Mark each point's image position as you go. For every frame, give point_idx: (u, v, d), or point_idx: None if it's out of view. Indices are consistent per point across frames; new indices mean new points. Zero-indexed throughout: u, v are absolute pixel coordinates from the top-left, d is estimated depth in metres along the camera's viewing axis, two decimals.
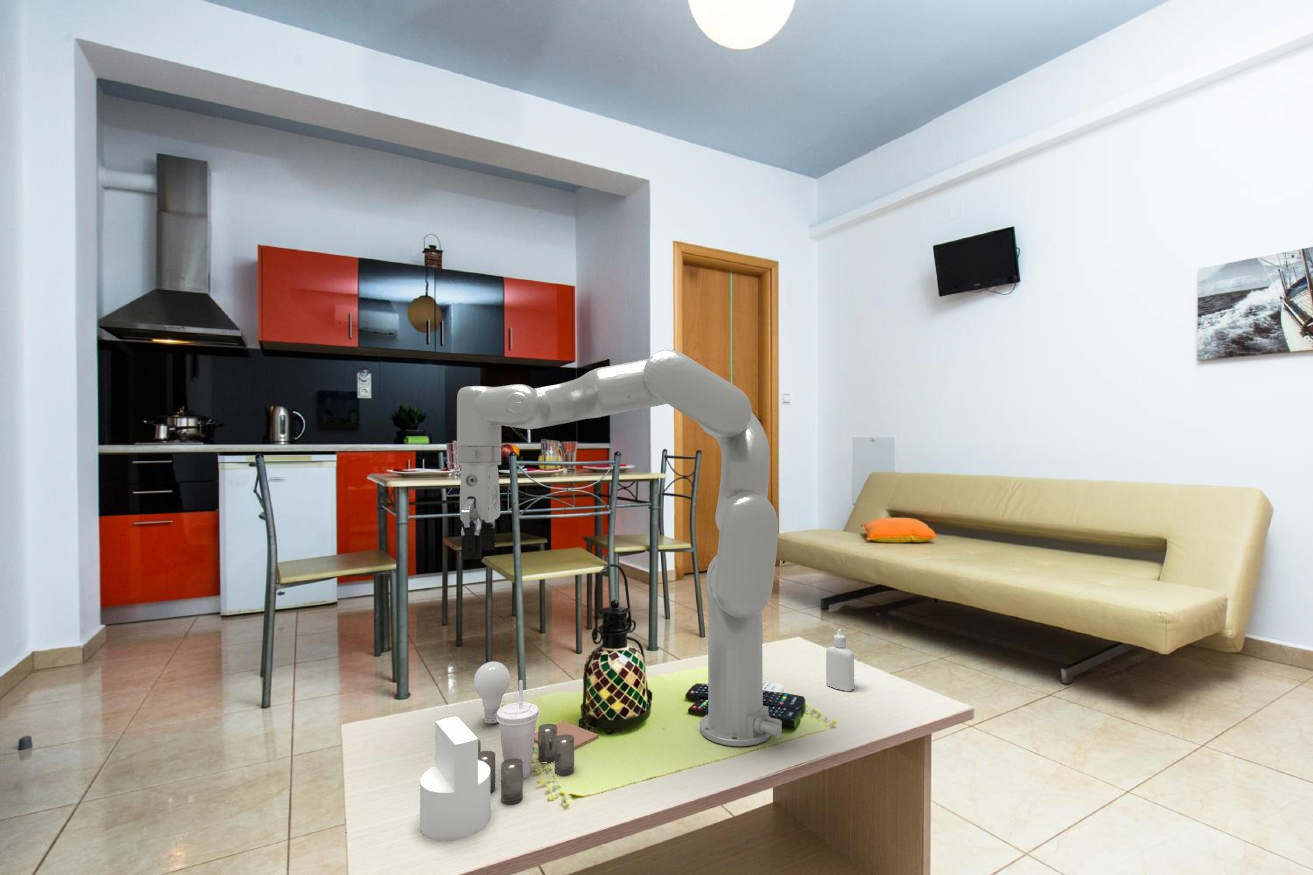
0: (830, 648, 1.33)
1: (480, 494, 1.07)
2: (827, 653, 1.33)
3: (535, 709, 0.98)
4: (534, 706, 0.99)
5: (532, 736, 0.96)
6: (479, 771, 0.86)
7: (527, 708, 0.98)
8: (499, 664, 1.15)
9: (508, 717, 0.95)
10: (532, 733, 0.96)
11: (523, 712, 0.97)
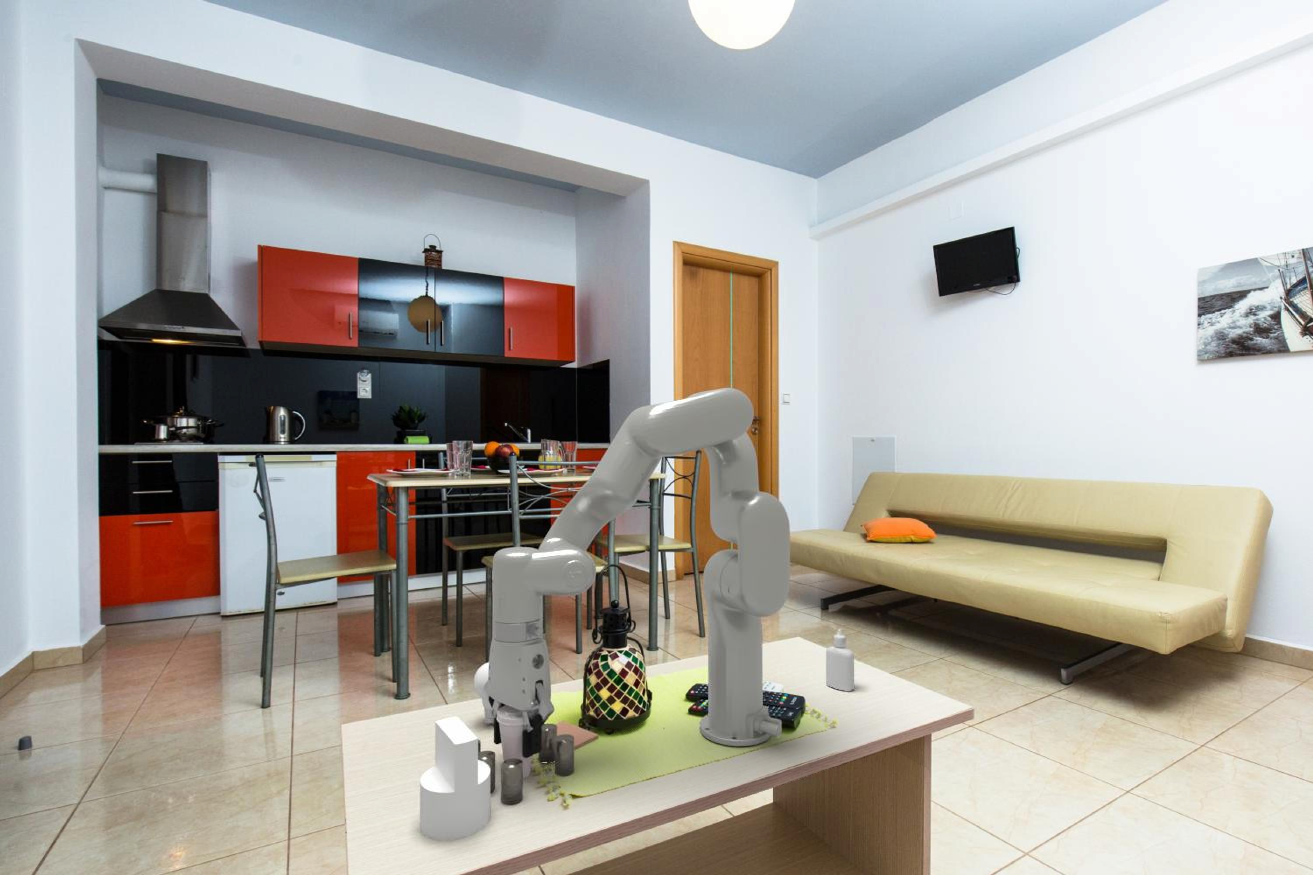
0: (830, 648, 1.33)
1: (546, 674, 0.96)
2: (827, 653, 1.33)
3: None
4: None
5: None
6: (479, 771, 0.86)
7: None
8: None
9: (508, 717, 0.95)
10: None
11: None
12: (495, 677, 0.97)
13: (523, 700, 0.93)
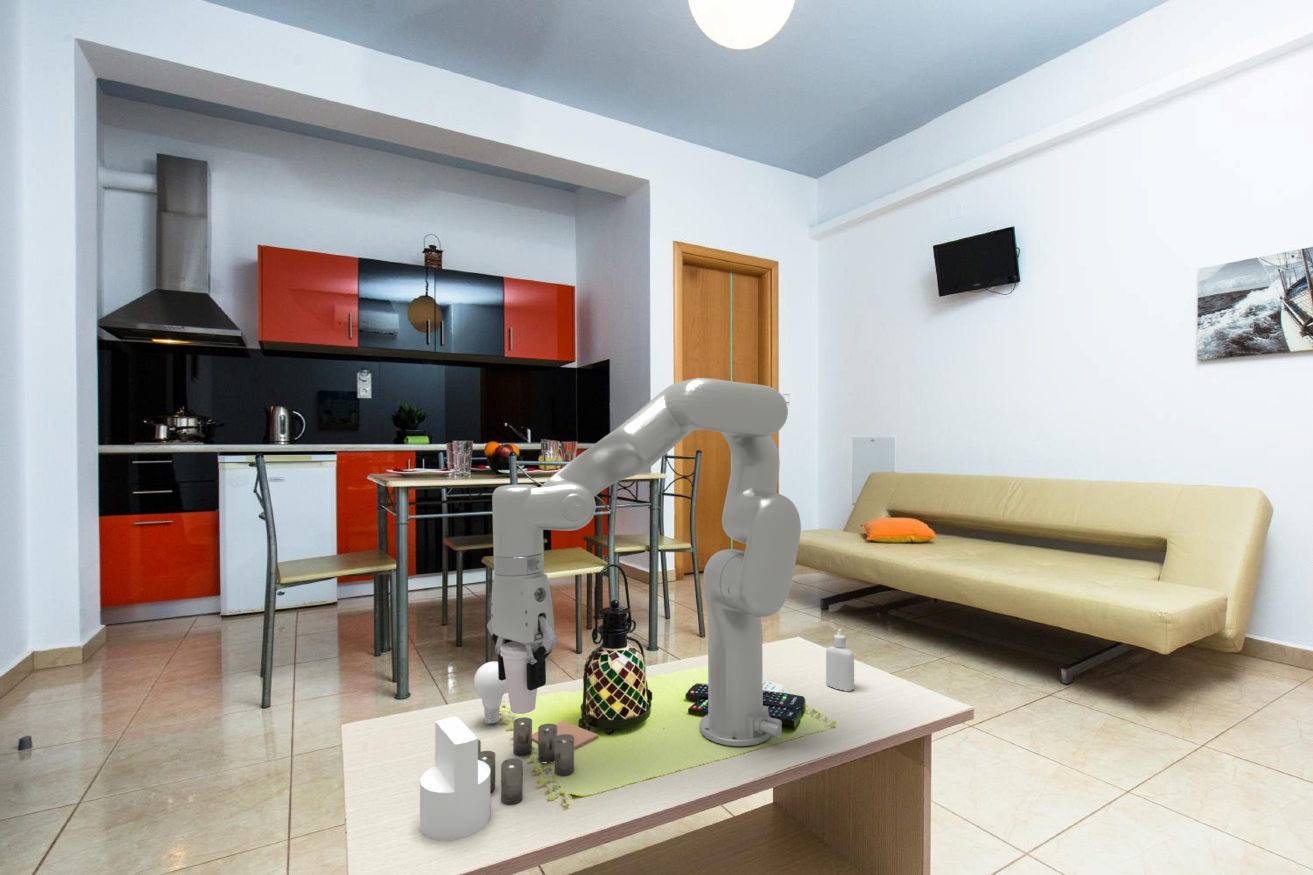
0: (830, 648, 1.33)
1: (549, 608, 0.96)
2: (827, 653, 1.33)
3: None
4: None
5: None
6: (479, 771, 0.86)
7: None
8: None
9: (512, 651, 0.95)
10: None
11: None
12: (497, 613, 0.98)
13: (526, 633, 0.94)
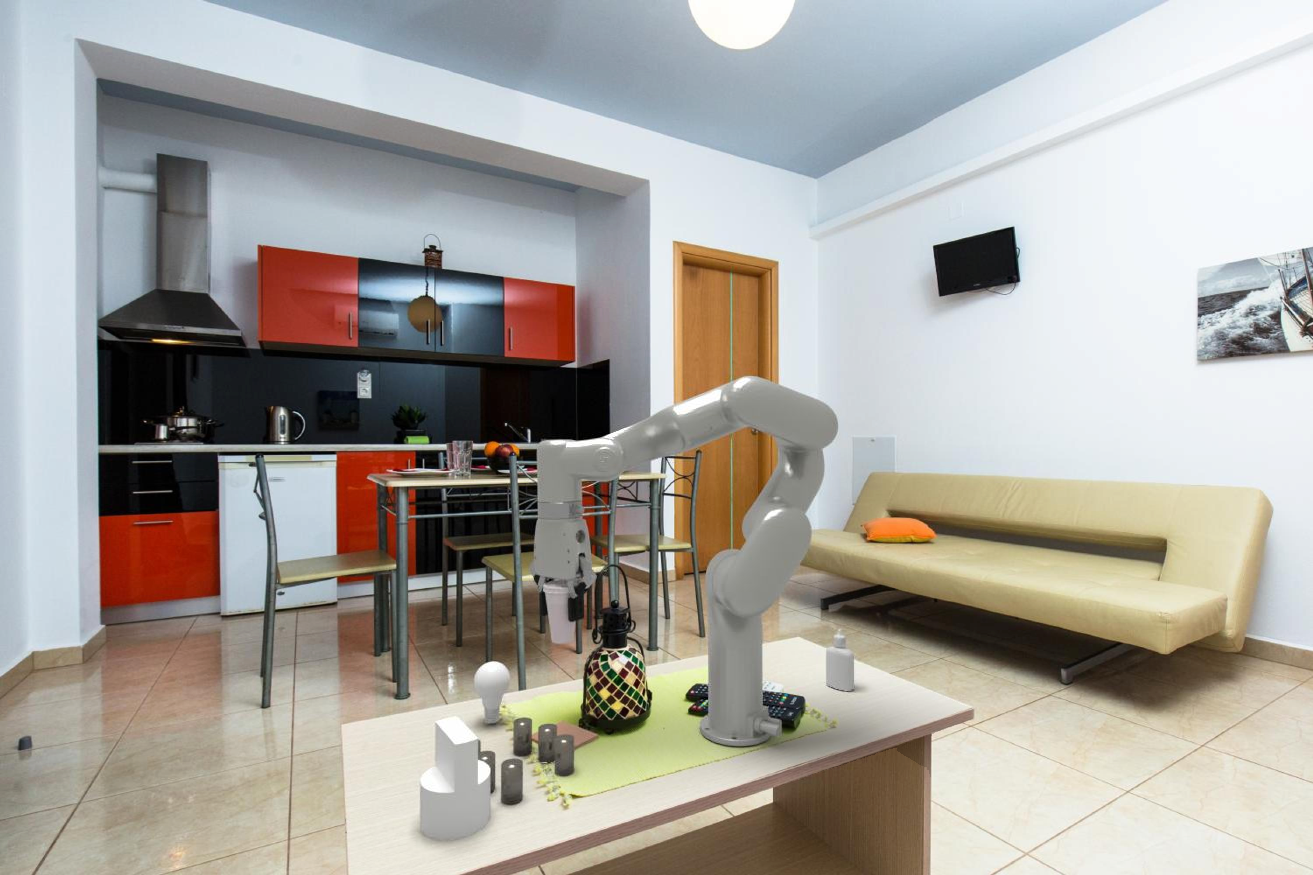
0: (830, 648, 1.33)
1: (588, 549, 1.07)
2: (827, 653, 1.33)
3: None
4: None
5: None
6: (479, 771, 0.86)
7: None
8: (499, 664, 1.15)
9: (554, 587, 1.06)
10: None
11: None
12: (540, 555, 1.09)
13: (568, 570, 1.05)
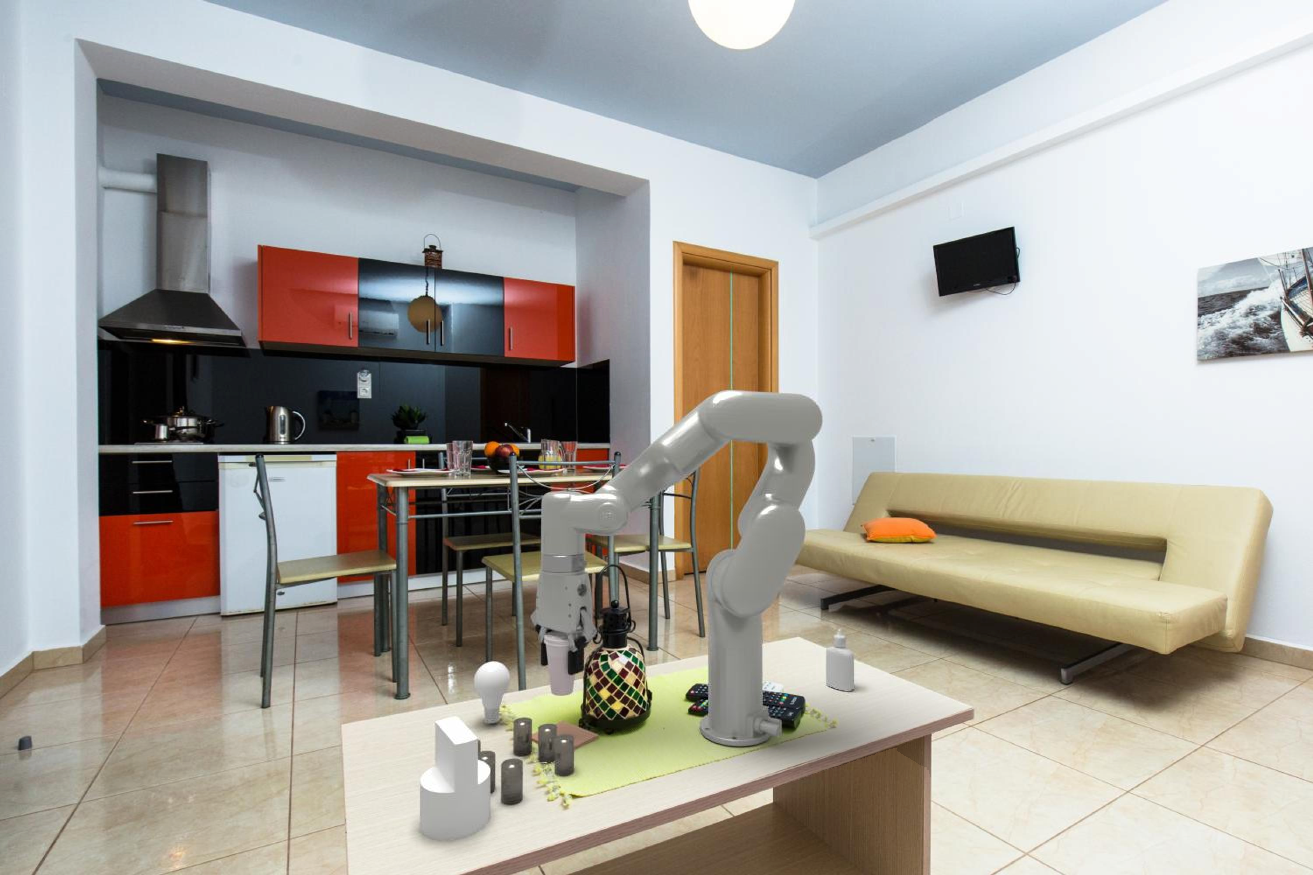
0: (830, 648, 1.33)
1: (589, 602, 1.08)
2: (827, 653, 1.33)
3: None
4: None
5: None
6: (479, 771, 0.86)
7: None
8: (499, 664, 1.15)
9: (555, 639, 1.07)
10: None
11: None
12: (542, 606, 1.09)
13: (569, 623, 1.05)
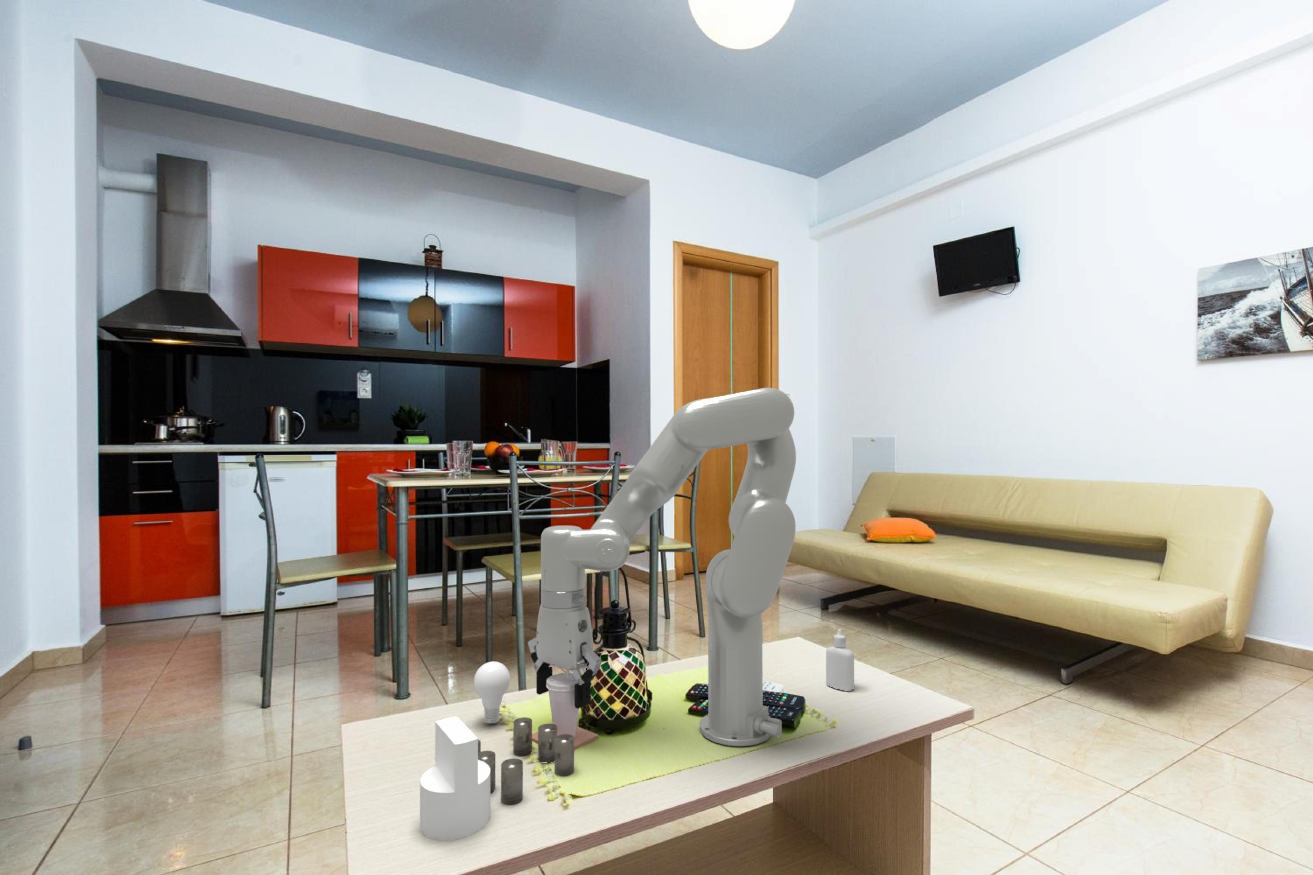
0: (830, 648, 1.33)
1: (589, 638, 1.07)
2: (827, 653, 1.33)
3: None
4: None
5: None
6: (479, 771, 0.86)
7: (573, 677, 1.09)
8: (499, 664, 1.15)
9: (557, 684, 1.07)
10: None
11: (570, 680, 1.08)
12: (543, 641, 1.09)
13: (570, 660, 1.05)
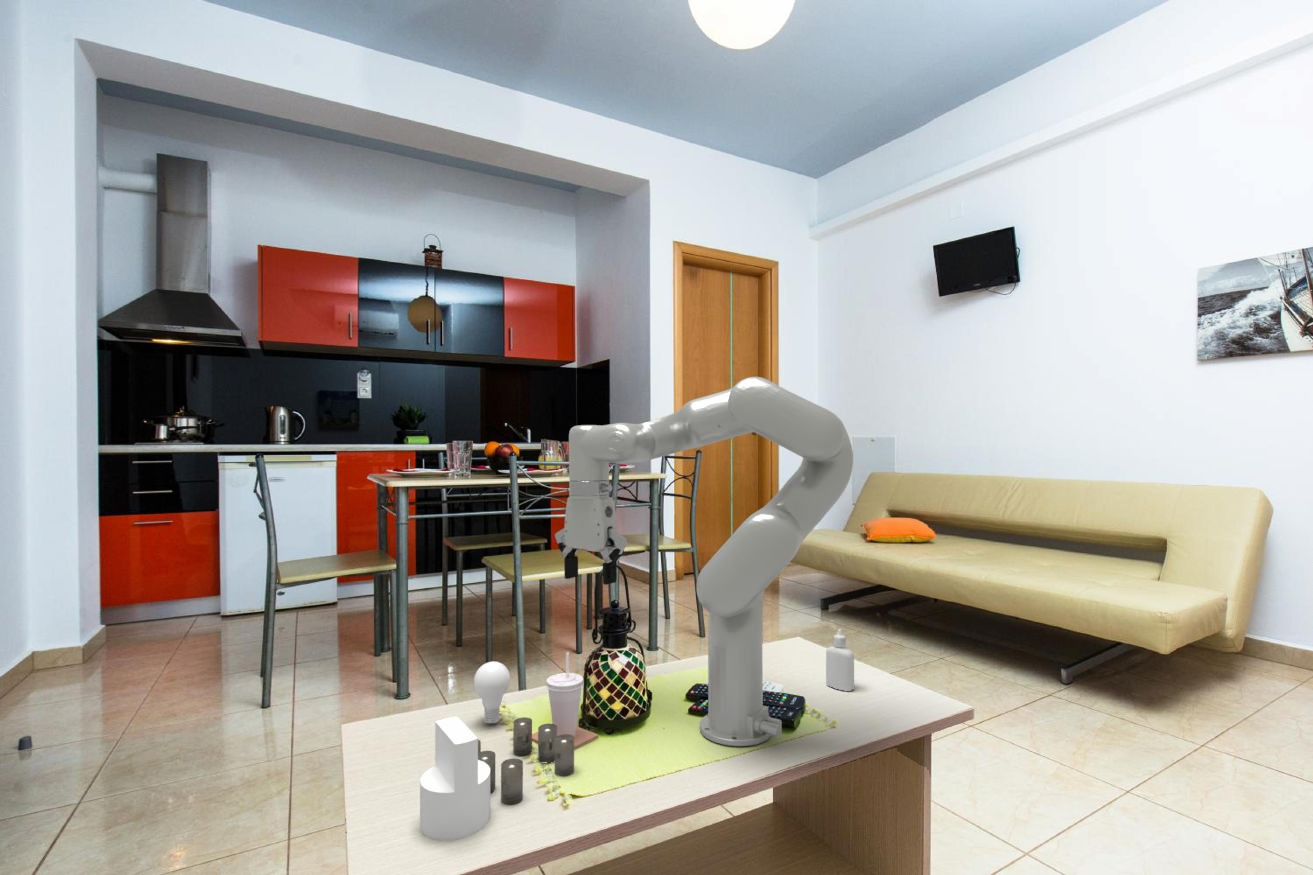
0: (830, 648, 1.33)
1: (614, 523, 1.19)
2: (827, 653, 1.33)
3: (580, 678, 1.10)
4: (579, 676, 1.11)
5: (578, 702, 1.08)
6: (479, 771, 0.86)
7: (573, 677, 1.09)
8: (499, 664, 1.15)
9: (557, 684, 1.07)
10: (578, 699, 1.08)
11: (570, 680, 1.08)
12: (571, 529, 1.20)
13: (598, 541, 1.17)
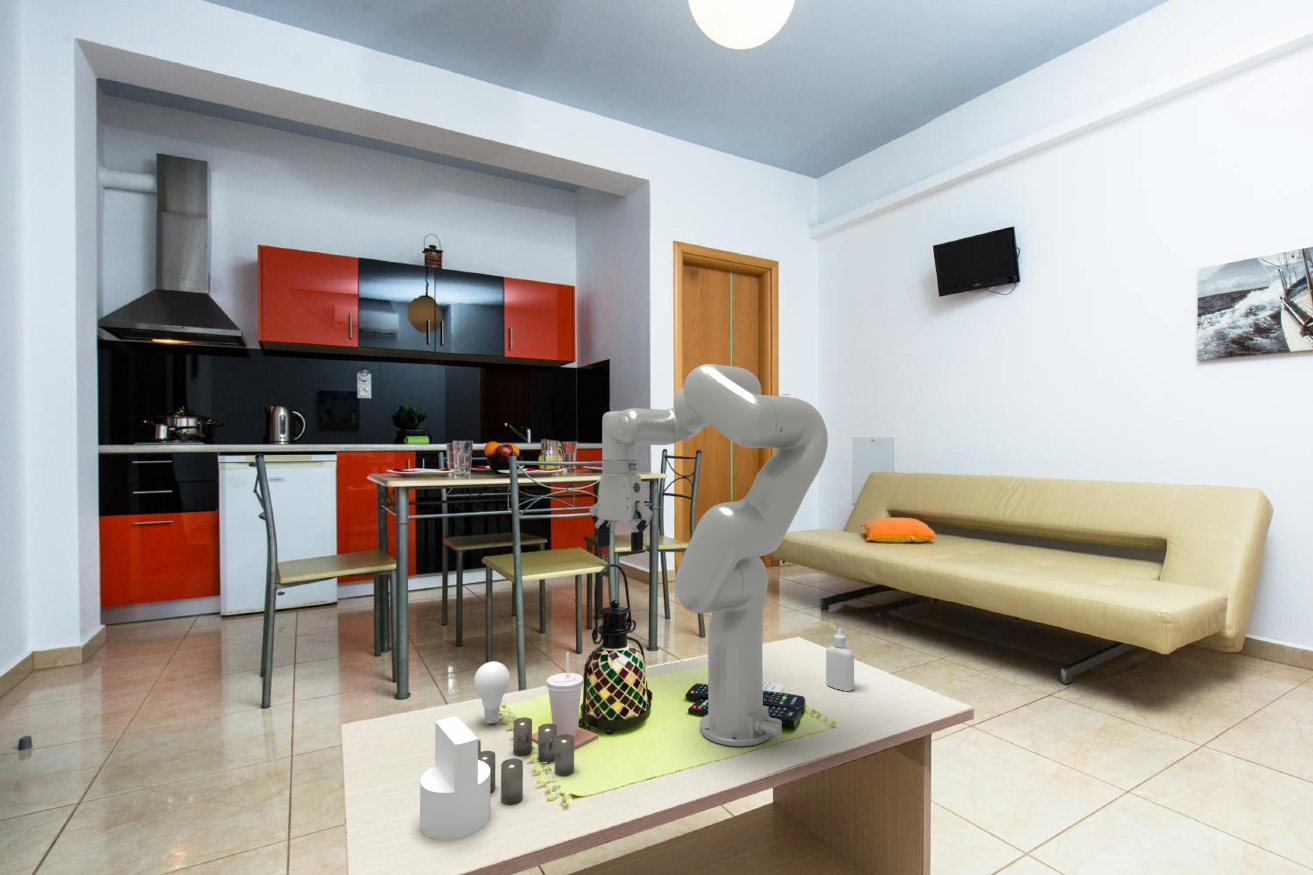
0: (830, 648, 1.33)
1: (642, 498, 1.35)
2: (827, 653, 1.33)
3: (580, 678, 1.10)
4: (579, 676, 1.11)
5: (578, 702, 1.08)
6: (479, 771, 0.86)
7: (573, 677, 1.09)
8: (499, 664, 1.15)
9: (557, 684, 1.07)
10: (578, 699, 1.08)
11: (570, 680, 1.08)
12: (604, 502, 1.36)
13: (627, 513, 1.32)
